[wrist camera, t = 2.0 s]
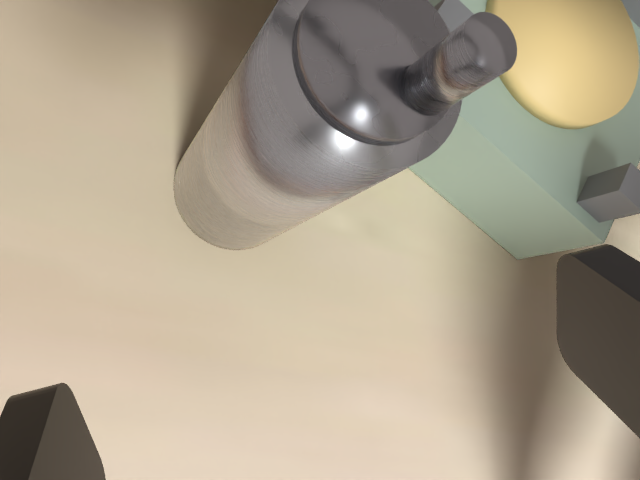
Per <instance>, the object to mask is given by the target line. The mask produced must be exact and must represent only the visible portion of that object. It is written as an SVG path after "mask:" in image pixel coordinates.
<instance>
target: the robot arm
mask: <svg viewBox="0 0 640 480" xmlns="http://www.w3.org/2000/svg"><path fill="white" fill-rule="evenodd" d="M557 340H558V344H559V348H560V351H561V353H562V356H563V358H564V360H565V362H566V363H567V365H568V366H569V368H570V369H571V370H572V371H573V372H574V373H575V374H576V375H577V376H578V377H579V378H580V379H581V380H582V381H583V382H584V383H585V384H586V385H587V386H588V387H589V388H590V389H591V390H592V391H593V392H594V393H595V394H596V395H597V396H598V397H599V398H600V399H601V400H602V401H603V402H604V403H605V404H606V405H607V406H608V407H609V408H610V409H611V410H612V411H613V412H614V413H615V414H616V415H617V416H618V417H619V418H620V419H621V420H622V421H623V422H624V423H625V424H626V425H627V426H628V427H629V428H630V429H631V430H632V431H633V432H634V433H635V434H636V435H637V436H638V437H639V438H640V262H639V261H637V260H635V259H634V258H632V257H630V256H629V255H627V254H626V253H624V252H622V251H621V250H619V249H617V248H616V247H614V246H612V245H608V244H606V245H601V246H597V247H593V248H589V249H585V250H582V251H578V252H574V253H570V254H566V255H563V256H562V257H561V258H560V259H559V261H558V264H557ZM0 480H106V479H105V473H104V468H103V464H102V461H101V458H100V456H99V453H98V451H97V449H96V446H95V444H94V442H93V439H92V437H91V434H90V432H89V430H88V427H87V425H86V423H85V420H84V418H83V416H82V413H81V411H80V408H79V406H78V404H77V401H76V399H75V397H74V395H73V392H72V391H71V389H70V388H69V386H68V385H67V384H65V383H60V384H56V385H52V386H48V387H44V388H40V389H37V390H33V391H29V392H25V393H21V394H17V395H13V396H11V397H10V398H9V399H8V400H7V402H6V404H5V407H4V409H3V411H2V414H1V416H0Z"/></svg>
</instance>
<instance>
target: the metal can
mask: <svg viewBox="0 0 640 480" xmlns="http://www.w3.org/2000/svg"><path fill="white" fill-rule="evenodd" d="M516 57H517V44H516V40H515V37H514V35H513V33H512V31H511V29H510V28H509V26H508V25H507V24H506V23H505V22H504V21H503V20H502V19H501V18H500V17H498V16H496V15H495V14H492V13H489V12H478V13H475V14H474V15H472V16H471V17H469V18H468V19H467V20H466V21H465V22H463V23H462V24H461V25H460V26H458V27H457V28H456V29H455V30H454V31H452V32H451V33H450V31H449V29H448V27H447V25H446V23H445V22H444V20H443V19H442V17H441V16H440V14H439V13H438V11H437V10H436V9H435V8H434V6H433V5H432V4H431V3H430V2H429V1H428V0H279V1H278V2H277V4H276V6H275V7H274V9H273V10H272V12H271V14H270V15H269V17H268V19H267V20H266V22H265V23H264V25H263V27H262V28H261V30H260V32H259V33H258V35H257V36H256V38H255V40H254V41H253V43H252V45H251V46H250V48H249V49H248V51H247V53H246V54H245V56H244V58H243V59H242V61H241V63H240V64H239V66H238V67H237V69H236V71H235V72H234V74H233V76H232V77H231V79H230V80H229V82H228V84H227V85H226V87H225V89H224V90H223V92H222V93H221V95H220V97H219V98H218V100H217V102H216V103H215V105H214V107H213V108H212V110H211V111H210V113H209V115H208V116H207V118H206V120H205V121H204V123H203V124H202V126H201V128H200V129H199V131H198V133H197V134H196V136H195V137H194V139H193V141H192V142H191V144H190V146H189V147H188V149H187V151H186V152H185V154H184V155H183V157H182V159H181V160H180V163H179V165H178V167H177V170H176V173H175V178H174V197H175V202H176V205H177V208H178V211H179V213H180V215H181V217H182V219H183V220H184V222H185V223H186V224H187V226H188V227H189V228H190V229H191V230H192V231H193V232H194V233H195V234H196V235H197V236H198V237H200V238H201V239H203V240H204V241H206V242H207V243H210V244H212V245H214V246H217V247H220V248H224V249H229V250H243V249H249V248H253V247H256V246H258V245H261V244H263V243H264V242H266V241H268V240H270V239H272V238H274V237H276V236H278V235H280V234H282V233H284V232H286V231H287V230H289V229H291V228H293V227H295V226H297V225H299V224H301V223H303V222H305V221H307V220H309V219H310V218H312V217H314V216H316V215H318V214H320V213H322V212H324V211H326V210H328V209H330V208H332V207H333V206H335V205H337V204H339V203H341V202H343V201H345V200H347V199H349V198H351V197H353V196H355V195H356V194H358V193H360V192H362V191H364V190H366V189H368V188H370V187H372V186H374V185H376V184H378V183H379V182H381V181H383V180H385V179H387V178H389V177H391V176H393V175H395V174H397V173H399V172H401V171H402V170H404V169H406V168H408V167H410V166H412V165H414V164H416V163H418V162H420V161H421V160H423V159H425V158H427V157H429V156H430V155H431V154H433V153H434V152H435V151H436V150H438V149H439V147H440V146H441V145H442V144H443V143H444V142H445V141H446V140H447V138H448V137H449V135H450V134H451V132H452V130H453V128H454V126H455V124H456V122H457V119H458V116H459V113H460V110H461V105H462V100H463V98H465V97H467V96H468V95H470V94H471V93H473V92H475V91H476V90H478V89H479V88H481V87H483V86H484V85H486V84H488V83H489V82H491V81H492V80H494V79H496V78H497V77H499V76H500V75H502V74H504V73H505V72H507V71H508V70H510V69H511V68H512V66H513V65H514V63H515V61H516Z"/></svg>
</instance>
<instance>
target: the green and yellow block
mask: <svg viewBox="0 0 640 480" xmlns="http://www.w3.org/2000/svg"><path fill="white" fill-rule="evenodd" d="M428 1H429V2H430V3H431V4H432V5H433V6H434V8H435V9H436V10H437V11H438V13H439V14H440V16H441V17H442V19H443V20H444V22H445V23H446V25H447V27H448V29H449V31H450V33H451V32H452V31H454V30H455V29H456V28H457V27H458V26H460V25H461V24H462V23H463V22H465V21H466V20H467V19H468V18H469V17H471V16H472V15H474V14H475V13H478V12H489V13H492V14H495V15H496V16H498V17H500V18H501V19H502V20H503V21H504V22H505V23H506V24H507V25H508V26H509V28H510V29H511V31H512V33H513V35H514V37H515V40H516V44H517V57H516V61H515V63H514V65H513V66H512V68H511V69H510V70H508V71H507V72H505V73H504V74H502V75H500V76H499V77H497V78H496V79H494V80H492V81H491V82H489V83H488V84H486V85H484V86H483V87H481V88H479V89H478V90H476V91H475V92H473V93H471V94H470V95H468V96H467V97H465V98H463V100H462V105H461V110H460V113H459V116H458V119H457V122H456V124H455V126H454V128H453V130H452V132H451V134H450V135H449V137H448V138H447V140H446V141H445V142H444V143H443V144H442V145H441V146H440V147H439V149H438V150H436V151H435V152H434V153H433V154H431V155H430V156H429V157H427V158H425V159H423V160H421V161H420V162H418V163H416V164H414V165H412V166H410V167H408V168H409V169H410V170H411V171H413V172H414V173H415V174H416V175H417V176H419V177H420V178H421V179H422V180H423V181H424V182H426V183H427V184H428V185H429V186H430V187H432V188H433V189H434V190H435V191H436V192H438V193H439V194H440V195H441V196H442V197H444V198H445V199H446V200H447V201H448V202H449V203H451V204H452V205H453V206H454V207H455V208H457V209H458V210H459V211H460V212H461V213H463V214H464V215H465V216H466V217H467V218H469V219H470V220H471V221H472V222H473V223H475V224H476V225H477V226H478V227H479V228H480V229H482V230H483V231H484V232H485V233H486V234H488V235H489V236H490V237H491V238H492V239H494V240H495V241H496V242H497V243H498V244H500V245H501V246H502V247H503V248H504V249H505V250H507V251H508V252H509V253H510V254H511V255H513V256H514V257H515V258H516V259H517V260H519V259H524V258H529V257H534V256H539V255H545V254H550V253H555V252H560V251H566V250H571V249H576V248H581V247H587V246H592V245H597V244H602V243H604V242H605V240H606V237H607V235H608V233H609V230H610V228H611V226H612V223H613V221H614V219H618V218H622V217H626V216H631V215H635V214H639V213H640V171H639V170H638V169H637V166H638V163H639V161H640V0H428Z"/></svg>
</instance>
